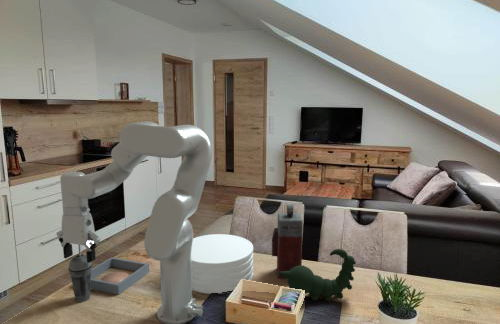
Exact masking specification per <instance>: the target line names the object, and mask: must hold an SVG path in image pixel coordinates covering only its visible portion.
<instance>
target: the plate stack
mask: <svg viewBox="0 0 500 324" xmlns="http://www.w3.org/2000/svg"><path fill="white" fill-rule="evenodd" d="M191 265H192V266H191V269H192V291H194V292H198V293H201V294H202V293H203V294H211V293H218V294H223V293H222V292H227V291H232V290H233V289H234V288H235V287H236V285H237V284H238V283H239V281H240V280H241V279H246V280H251V281H252V280H253V278H254V245H253V243H252V242H251V241H250V240H248V239H247V238H244V237H242V236H239V235H234V234H224V233H216V234H215V233H214V234H213V233H212V234H207V235H206V234H204V235H200V236H197V237H193V242H192V252H191ZM232 292H233V291H232ZM227 293H228V292H227ZM211 295H212V294H211Z"/></svg>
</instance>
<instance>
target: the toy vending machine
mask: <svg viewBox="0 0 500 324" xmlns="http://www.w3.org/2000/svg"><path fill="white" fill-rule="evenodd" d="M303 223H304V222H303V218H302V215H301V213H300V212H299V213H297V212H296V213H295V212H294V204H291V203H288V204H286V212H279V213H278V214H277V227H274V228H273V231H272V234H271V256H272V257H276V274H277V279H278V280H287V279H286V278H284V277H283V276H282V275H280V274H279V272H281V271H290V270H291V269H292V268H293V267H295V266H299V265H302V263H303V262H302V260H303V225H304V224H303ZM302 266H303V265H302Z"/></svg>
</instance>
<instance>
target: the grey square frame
mask: <svg viewBox="0 0 500 324" xmlns="http://www.w3.org/2000/svg"><path fill="white" fill-rule="evenodd" d="M111 268H118V269H123V270H130V271H134V272H132V273H131V274H130V275H129V273H127V272H124V271H115V272H110V273H109V274H105V275H104V276H103V277H102V278H101V279H97V277H99V276H100V275H101V274H102V273H105V272H107V270H109V269H111ZM149 273H150V263H146V262H141V261H135V260H131V259H130V260H129V259H124V258H118V257H114V256H113V257H112V256H111V257H109V258H107V259H106V260H104V261H103V262H101V263H99V264H97V265H96V266H94V267H92V269H91V290H95V291H99V292H103V293H108V294H109V293H110V294H114V295H121V294H122V293H123V292H125V291H126V290H127V289H129V288H130V287H132V286H133V285H134V284H135V283H137V282H138V281H140V280H141V279H142V278H143V277H145V276H146V275H147V274H149Z"/></svg>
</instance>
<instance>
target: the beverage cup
mask: <svg viewBox="0 0 500 324" xmlns="http://www.w3.org/2000/svg"><path fill="white" fill-rule="evenodd" d="M92 268H93V263H92V262H90V263H87V255H86V254H83V253H81V245H78V254H77V255H75V256H73V257H72V258H71V260H70V261H69V264H68V269H67V270H68V272H69V275H70V278H71V284H72V288H73V294H74V298H75V301H76V302H78V303H82V302H83V303H84V302H86V301H88V300H90V299H91V292H92V291H91V290H92V289H91V269H92Z"/></svg>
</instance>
